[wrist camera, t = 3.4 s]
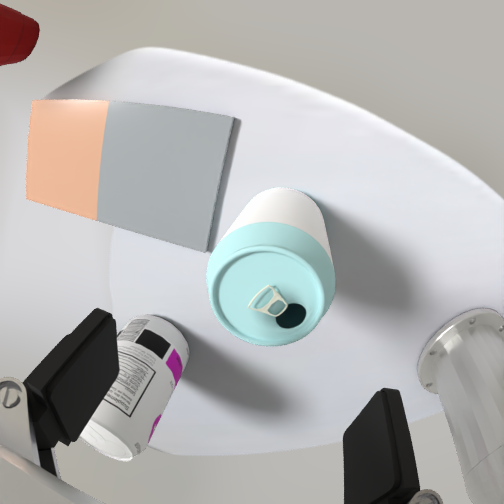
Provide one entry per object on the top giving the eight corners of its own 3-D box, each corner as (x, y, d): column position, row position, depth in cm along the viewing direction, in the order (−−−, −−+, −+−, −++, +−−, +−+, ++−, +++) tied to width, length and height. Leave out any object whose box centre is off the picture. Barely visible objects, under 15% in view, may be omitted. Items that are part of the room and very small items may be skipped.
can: (326, 188, 24) (347, 237, 13) (321, 267, 26) (328, 360, 15) (240, 184, 25) (190, 230, 14) (242, 262, 27) (203, 349, 16)
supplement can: (205, 354, 33) (158, 465, 19) (158, 372, 35) (108, 463, 22) (159, 300, 31) (82, 402, 17) (116, 325, 33) (47, 410, 20)
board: (234, 117, 23) (232, 117, 22) (207, 250, 27) (205, 252, 27) (36, 100, 24) (32, 100, 23) (29, 197, 29) (26, 199, 28)
